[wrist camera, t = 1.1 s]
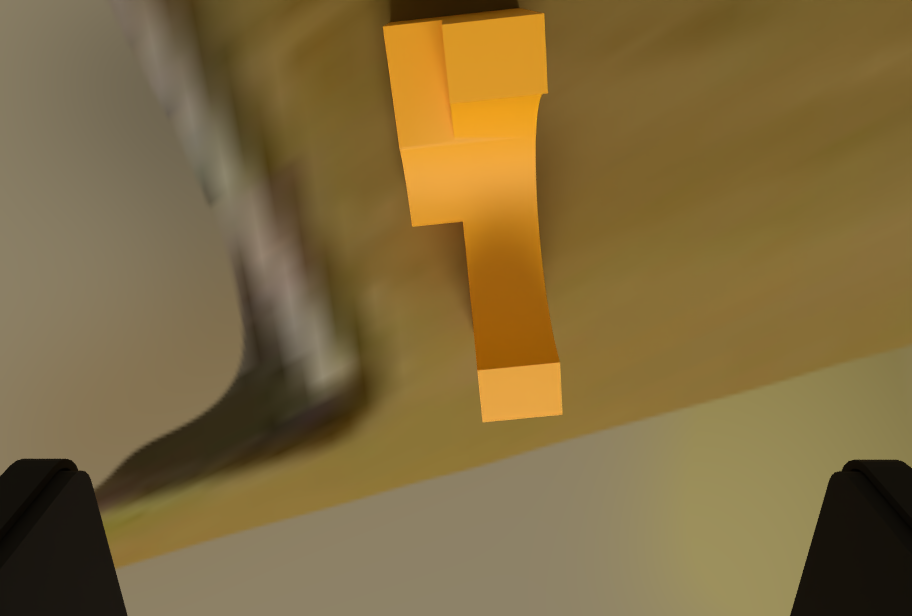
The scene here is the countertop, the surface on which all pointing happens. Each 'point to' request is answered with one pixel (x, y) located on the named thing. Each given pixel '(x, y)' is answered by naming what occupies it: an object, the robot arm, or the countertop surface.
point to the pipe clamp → (483, 184)
